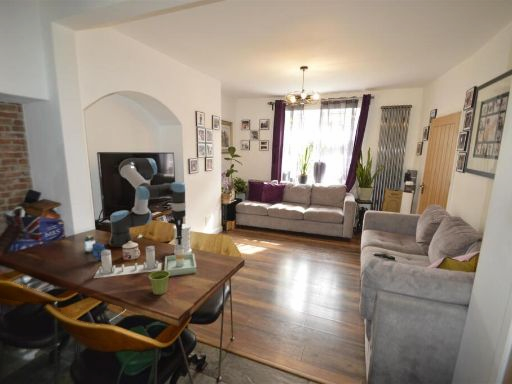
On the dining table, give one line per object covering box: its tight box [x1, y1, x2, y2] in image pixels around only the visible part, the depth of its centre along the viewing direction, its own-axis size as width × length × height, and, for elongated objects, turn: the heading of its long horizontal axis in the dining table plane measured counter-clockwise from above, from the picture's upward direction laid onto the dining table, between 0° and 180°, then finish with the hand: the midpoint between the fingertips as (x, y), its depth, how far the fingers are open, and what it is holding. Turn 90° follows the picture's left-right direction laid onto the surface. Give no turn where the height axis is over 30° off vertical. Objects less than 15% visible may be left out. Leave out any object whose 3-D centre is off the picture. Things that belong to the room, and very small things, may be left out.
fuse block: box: [93, 245, 163, 279], centre depth 141 cm, size 10×33×14 cm, turn 107°
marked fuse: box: [176, 245, 184, 267], centre depth 149 cm, size 5×5×12 cm
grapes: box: [91, 241, 108, 261], centre depth 154 cm, size 12×7×12 cm, turn 71°
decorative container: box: [173, 223, 193, 255], centre depth 170 cm, size 12×12×18 cm
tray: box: [163, 252, 198, 277], centre depth 150 cm, size 20×17×3 cm
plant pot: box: [148, 270, 170, 295], centre depth 123 cm, size 9×9×9 cm
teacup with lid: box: [121, 241, 141, 261], centre depth 158 cm, size 12×9×12 cm
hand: (179, 245), depth 149 cm, fingers open, 13 cm apart
